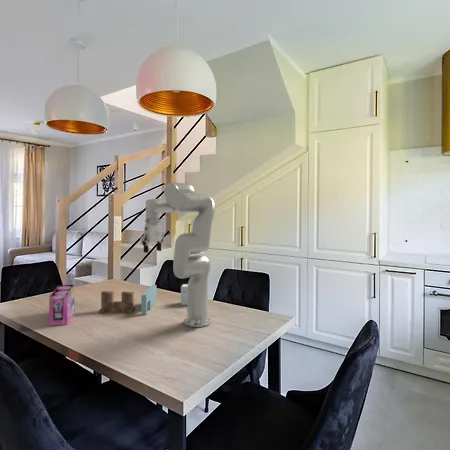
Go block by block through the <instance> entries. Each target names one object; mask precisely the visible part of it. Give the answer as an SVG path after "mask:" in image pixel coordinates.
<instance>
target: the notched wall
mask: <svg viewBox="0 0 450 450" xmlns="http://www.w3.org/2000/svg"><path fill="white" fill-rule="evenodd" d="M100 296H101V297H100V304H101V305H100V306H101V308H100V309H99V310H98V314H105V313H126V315H131V314H132V313H133V312H134V311H135V310H136V305H135V304H134V298H135V297H134V291H122V292H121V301H117V300H114V291H108V290H107V291H104V290H103V291H101V292H100Z"/></svg>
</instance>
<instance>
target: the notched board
mask: <svg viewBox="0 0 450 450" xmlns="http://www.w3.org/2000/svg"><path fill="white" fill-rule="evenodd" d="M156 304H157V284H151V285H150V286H149V287H148V288H147V289H146V290H145V291H144V292H143V293H142V294H141V307H140V308H141V313H140V314H141V315H142V316H144V315H145V316H147V315H148V310H150V311H151V310H152V309H153V307H154V306H155V305H156Z"/></svg>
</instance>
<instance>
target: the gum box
mask: <svg viewBox="0 0 450 450" xmlns="http://www.w3.org/2000/svg"><path fill="white" fill-rule="evenodd" d="M48 297H49V298H48V299H49V300H48V303H49V304H48V305H49V306H48V326H49V327H54V326H55V327H56V326H65V325H66V326H67V325H68V324H69V322H70V320H71V319H72V316H73V314H74V312H75V310H76V309H75V306H76V305H75V284H63V285H57V286H56V288H55V289H54V290H53V292H52V293H50V295H49V296H48Z"/></svg>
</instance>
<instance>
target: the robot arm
mask: <svg viewBox="0 0 450 450" xmlns="http://www.w3.org/2000/svg"><path fill="white" fill-rule="evenodd" d="M195 192H196V191H195V189H194V186H193V185H191V184H189V183H187V182H169V183H167V184H166V185H165V187H164V190H163V194H164V195H163V196H164V197H165V198H151V199H150V198H149V199H147V200H146V201H145V220H144V222H145V224H144V228H143V229H144V230H143V235H141V237H140V238H139V239H140V243H141V244H142V246H143V253H144V254H145V253H146V254H149V243H154V242H156V251H158V252H161V251H162V244H163V243H164V239H165V235H164V234H163V231H162V225H161V223H160V214H162V213H163V214H166V213H167V214H169V213H173V212H175V211H178V212H179V213H180V212H181V213H198V214H197V215H196V216H195V218H194V220H193V221H192V227H191V228H192V229H191V232H187V233H181V234H179V235H178V236H177V237H176V239H175V244H174V253H173V265H172V267H173V268H172V269H173V270H172V271H173V273H174V274H173V275H174V276H175V277H176V278H178V279H187V278H189V280H188V281H187V284H188V287H187V305H186V306H187V308H186V311H187V315H186V316H187V317H186V318H184V319H183V323H184V325H186V326H187V327H191V328H202V327H206V326H209V325H210V324H211V323H212V320H211V318H210V317H209V315H208V314H209V312H208V310H209V307H208V305H209V303H208V302H209V296H208V295H209V293H208V292H209V275H210V270H211V261H210V258H208V256H205V255H202V254H204V253H206V252H207V251H208V250H209V248H210V241H211V230H212V224H213V219H214V217H215V212H216V204H215V202H214V200H213V198H212V197H211V196H209V195H207V194H204V193H195Z"/></svg>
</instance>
